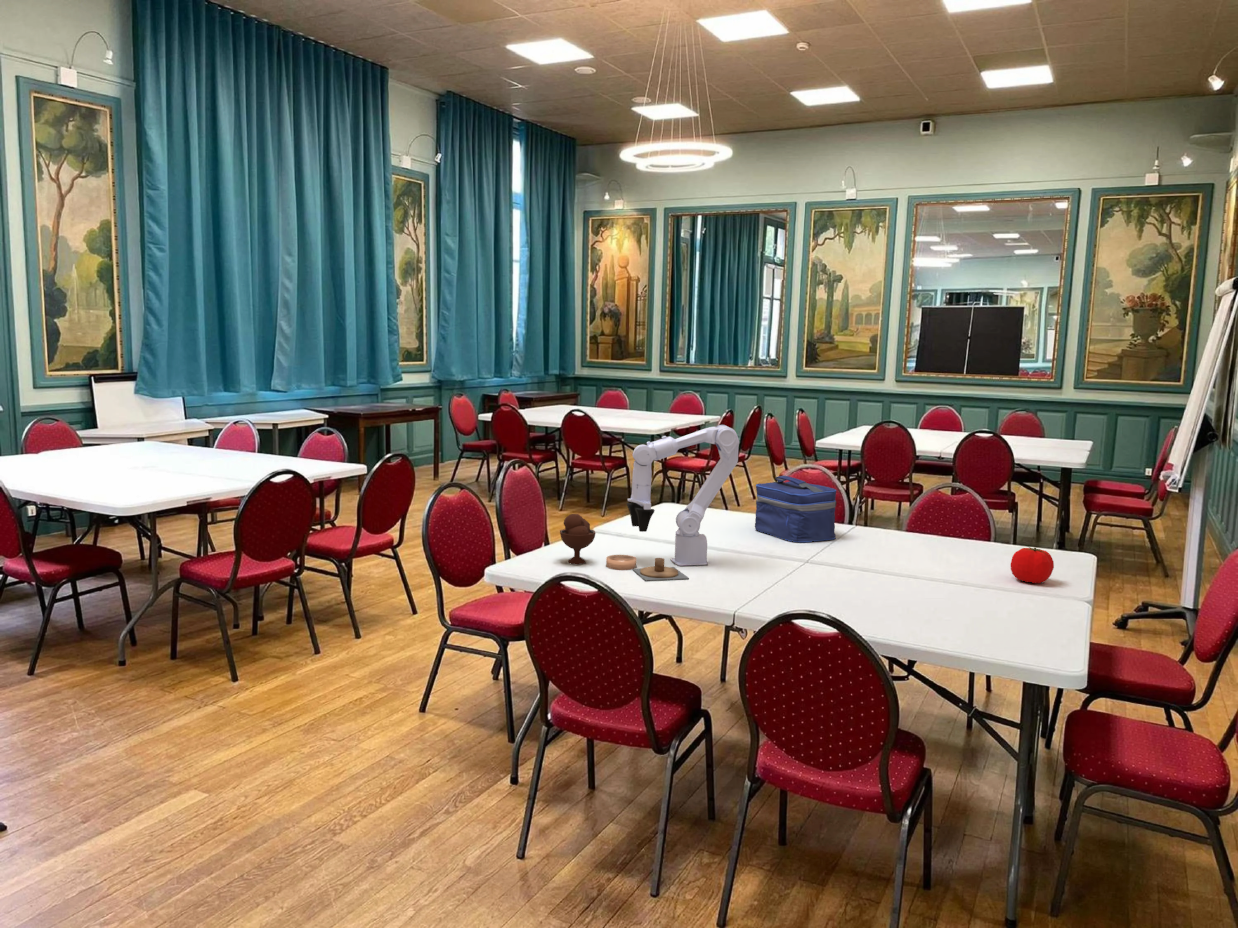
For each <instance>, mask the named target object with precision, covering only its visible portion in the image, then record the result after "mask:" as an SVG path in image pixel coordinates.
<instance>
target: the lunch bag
mask: <svg viewBox="0 0 1238 928" xmlns="http://www.w3.org/2000/svg"><path fill="white" fill-rule="evenodd" d="M774 480H776V481H774V482H773V481H772V482H766V483H757V484H756V485H755V489H756V490H755V491H756V497H757V499H756V501H755V505H756V507H755V508H756V510H755V518H754V519H755V520H754V527H755V528H754V529H756V530H758V531H757V532H759V531H760V532H759V533H763V532H764V533H763V534H766V533H767V535H769V534H770V536H772V535H773V537H775V536H776V537H775V538H778V537H779V538H778V539H781V538H782V539H781V540H783V539H785V540H784V541H787V540H788V541H787V542H792V541H793V542H792V543H813V542H812V541H814V542H820V541H830V540H836V537H837V536H836V533H835V529H836V525H835V523H836V521H835V520H836V507H837V500H836V496H837V489H835V488H833V487H830V486H825V485H820V484H812V483H807V482H806V481H805V480H802V479H799V478H796V477H793V476H788V475H780V476H776V477H775V479H774ZM785 481H786V482H785ZM756 530H755V531H756Z"/></svg>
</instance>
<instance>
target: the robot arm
mask: <svg viewBox="0 0 1238 928" xmlns="http://www.w3.org/2000/svg"><path fill="white" fill-rule="evenodd" d="M702 443H707V444H712V445H715V446H716V447H717V450H718V454H719V458H720V459H719V460H718V461H717V464H716V465H715V466H714V467H713V469H712V471H711V472H710V474H709V475H708V477H707V478H706V479H705V481H704V483H703V484H702V485H701V487H700V489H699V490H698V492H697V493H696V494H695V496H694V498H693V499H692V500H691V502H689V503H688V504H687V505H686V507H685V508H684V509H683V510H681V511H680V512H678V513H677V515H676V518H675V524H676V526H677V527H678V528H677V530H676V531H675V537H674V538H675V540H674V557H672V558H670V561H671V562H672V563H674V564H676V566H678V567H681V566H703V565H704V566H705V565H708V562H707V561H708V539H707V536H706V535H705V534H704V533H700V532H699V531H700V529H701V524H702V523H701V522H702V520H703V519H704V517H705V514H706V510H707V509H708V508H709V506H710V505H711V504H712V502H713V501H714V499H715V497H716V496H717V494H718V492H719V491H720V489H722V487H723V485H724V484H725V482H726V481H727V479H728V478H729V476H730V475H731V473H732V472H733V470H734V468H735V467H736V466H737V464H738V462H739V445H740V439H739V436H738V433H737V432H736V430H735V429H734V428H732V427H729V426H727V425H725V424H719V425H716V426H709V427H705V428H703V429H700V430H699V429H698V430H697V431H694V432H692V433H689V434H686V435H683V436H680V437H678V438H674V437H672V436H666V435H663V436H661V438H660V439H657V440H654V441H647V442H646V444H639V445H637V446H635V448H634V450H633V452H632V458H633V459H634V461H633V469H632V479H631V480H632V481H631V482H632V484H631V495H630V498H627V502H626V506H627V508H628V511H629V514H630V515H629V516H630V521H631V526H632V527H638V530H639V532H642V533H644V532H646V533H647V531H648V528H649V525H650V522H651V519H652V516H653V515H654V513H655V511H656V510H655V509H654V508H652V503H651V502H652V499H651V493H652V491H651V490H652V473H653V471H652V463H653V462H654V461H659V460H662V459H663V460H664V459H665V458H668V457H671V456H675V455H676V454H677V453H678V450H680V449H683V448H687V447H690V446H691V447H692V446H694V445H699V444H702Z"/></svg>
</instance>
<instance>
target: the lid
mask: <svg viewBox="0 0 1238 928" xmlns="http://www.w3.org/2000/svg"><path fill="white" fill-rule="evenodd" d="M670 567H671V566H665V558H664V557H655V558H654V565H651V566H646V567H645V566H644V567H642V569H641V570H640V574H641V575H643V576H646V577H651V578H672V577H676V576H677V575H678V570H679V569H677V568H676V569H677V570H676V569H674V568H670Z"/></svg>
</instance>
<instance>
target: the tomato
mask: <svg viewBox="0 0 1238 928" xmlns="http://www.w3.org/2000/svg"><path fill="white" fill-rule="evenodd" d="M1011 557H1012V558H1011V561H1010V571H1011V574H1012V575H1013V576H1014V577H1015V579H1017V580H1019V581H1021V580H1022V581H1021V582H1023V581H1025V582H1024V583H1028V582H1032V583H1031V584H1042V583H1041V582H1043V583H1045V582H1046V581H1047V580H1049V578H1050V577H1051V576H1052V573H1053V570H1054V568H1055V567H1054V566H1055V563H1054V559H1053V557H1052V555H1051V554H1050V553H1049V552H1048V551H1047V550H1044V549H1043V550H1042V549H1041V548H1037V547H1033V548H1032V547H1030V546H1028V545H1027V546H1026V547H1023V548H1020V549H1019V550H1017V551H1015V552H1014V554H1013V555H1012V556H1011Z"/></svg>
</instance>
